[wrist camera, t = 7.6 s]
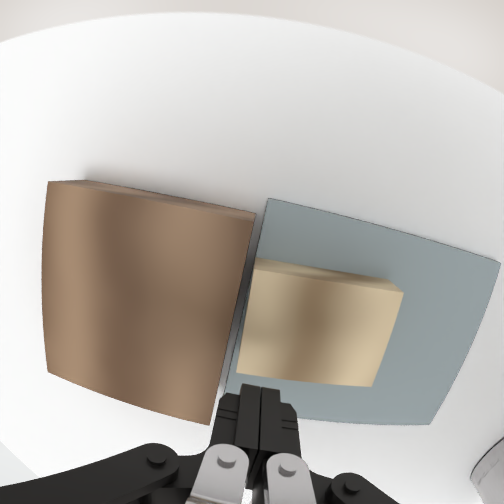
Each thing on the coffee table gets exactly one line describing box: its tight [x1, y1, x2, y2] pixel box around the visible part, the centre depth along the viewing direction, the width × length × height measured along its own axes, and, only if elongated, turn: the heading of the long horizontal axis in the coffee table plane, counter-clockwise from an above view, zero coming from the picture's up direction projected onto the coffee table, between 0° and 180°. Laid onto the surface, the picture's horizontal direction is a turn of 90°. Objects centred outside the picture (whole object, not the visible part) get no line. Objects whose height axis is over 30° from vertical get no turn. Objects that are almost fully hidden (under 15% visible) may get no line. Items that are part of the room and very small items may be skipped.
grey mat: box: [224, 198, 501, 425], centre depth 19 cm, size 17×14×1 cm
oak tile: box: [236, 257, 404, 387], centre depth 17 cm, size 8×6×2 cm
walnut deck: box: [42, 180, 256, 425], centre depth 17 cm, size 11×12×4 cm
